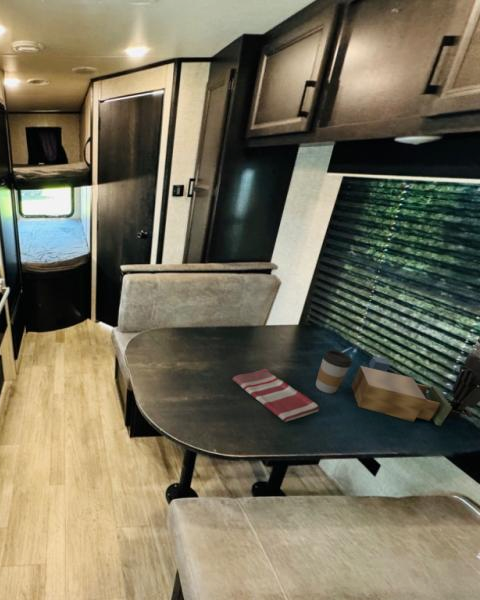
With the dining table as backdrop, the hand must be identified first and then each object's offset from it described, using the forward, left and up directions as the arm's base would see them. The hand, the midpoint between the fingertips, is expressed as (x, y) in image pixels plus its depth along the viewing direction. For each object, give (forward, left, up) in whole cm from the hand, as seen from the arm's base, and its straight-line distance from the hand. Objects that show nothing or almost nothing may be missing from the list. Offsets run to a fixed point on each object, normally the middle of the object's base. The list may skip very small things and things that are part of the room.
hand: (450, 416), depth 104 cm
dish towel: (+48, +23, -2) cm, 54 cm away
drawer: (+7, +1, -1) cm, 7 cm away
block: (+17, -22, -2) cm, 28 cm away
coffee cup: (+33, +6, -2) cm, 34 cm away
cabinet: (+17, +3, -2) cm, 18 cm away
